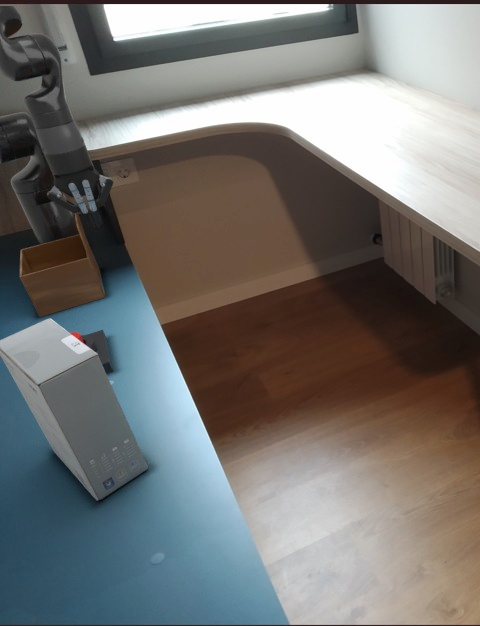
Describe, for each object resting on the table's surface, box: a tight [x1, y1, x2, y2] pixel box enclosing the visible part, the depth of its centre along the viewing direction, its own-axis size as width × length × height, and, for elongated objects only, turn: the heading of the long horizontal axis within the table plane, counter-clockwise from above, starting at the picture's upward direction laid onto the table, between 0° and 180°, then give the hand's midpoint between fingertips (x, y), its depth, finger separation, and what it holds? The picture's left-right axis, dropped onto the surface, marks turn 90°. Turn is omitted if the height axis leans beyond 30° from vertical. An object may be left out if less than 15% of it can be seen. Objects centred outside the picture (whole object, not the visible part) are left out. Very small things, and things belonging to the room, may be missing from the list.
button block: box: [80, 329, 114, 375], centre depth 109 cm, size 12×10×4 cm
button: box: [69, 331, 85, 344], centre depth 107 cm, size 4×4×2 cm
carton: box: [19, 234, 107, 318], centre depth 131 cm, size 15×13×9 cm
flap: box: [74, 212, 89, 255], centre depth 129 cm, size 15×6×1 cm
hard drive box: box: [0, 318, 149, 501], centre depth 83 cm, size 16×8×20 cm, turn 48°
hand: (96, 227), depth 130 cm, fingers closed
